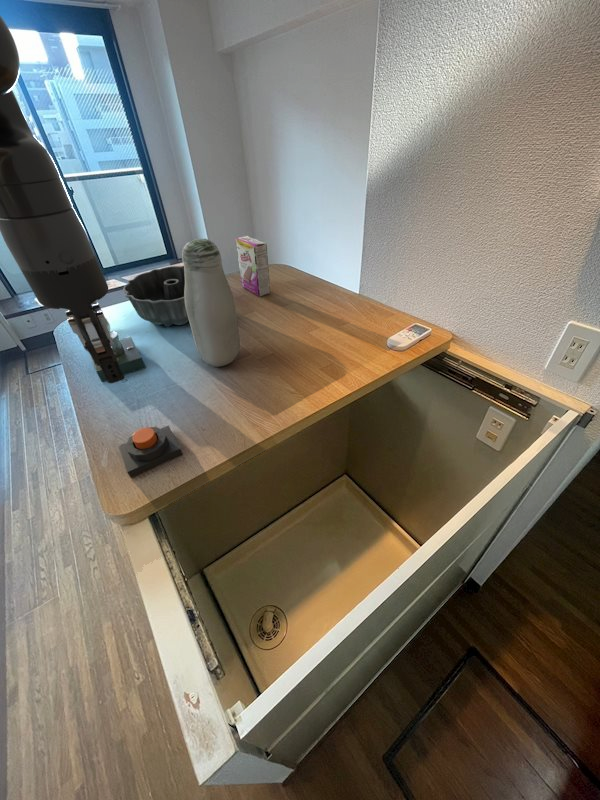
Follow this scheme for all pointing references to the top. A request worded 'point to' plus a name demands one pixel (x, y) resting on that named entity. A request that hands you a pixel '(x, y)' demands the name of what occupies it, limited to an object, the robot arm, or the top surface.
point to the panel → (125, 359)
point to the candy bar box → (253, 265)
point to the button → (144, 438)
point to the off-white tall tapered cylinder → (210, 303)
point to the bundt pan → (159, 295)
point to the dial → (116, 344)
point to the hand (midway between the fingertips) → (116, 379)
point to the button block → (150, 452)
